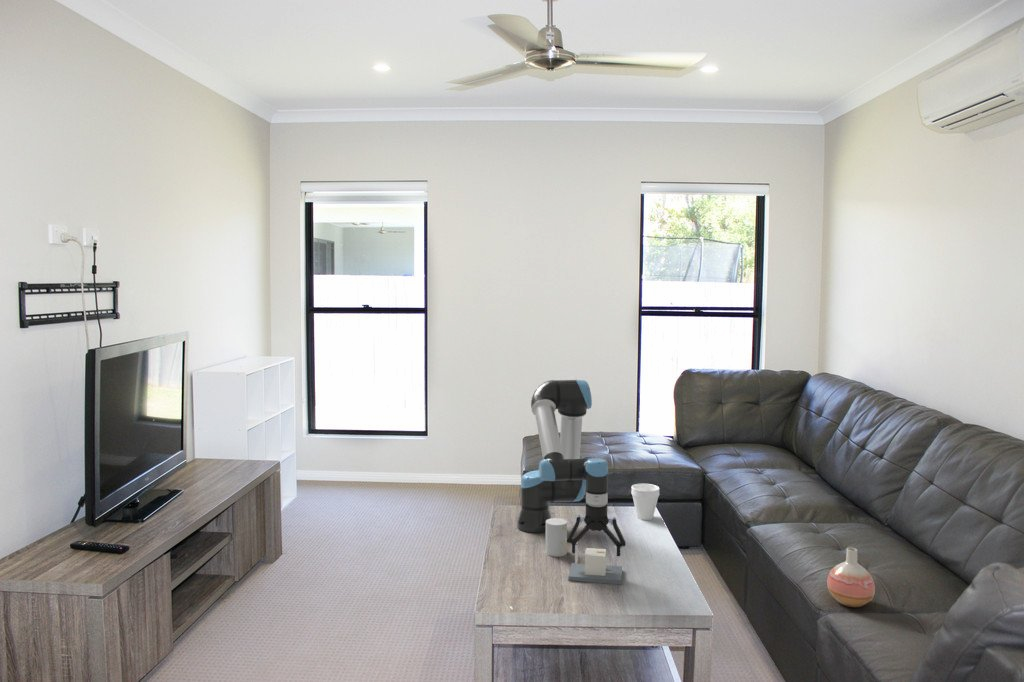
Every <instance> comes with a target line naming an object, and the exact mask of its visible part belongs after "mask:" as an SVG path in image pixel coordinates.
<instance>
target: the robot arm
mask: <svg viewBox="0 0 1024 682" xmlns="http://www.w3.org/2000/svg"><path fill="white" fill-rule="evenodd" d="M592 399H593V398H592V392H591V388H590V385H589V383H588V381H586V380H584V379H583V380H582V379H560V380H557V379H556V380H555V379H554V380H553V379H552V380H546V381H544V382H542V383H541V384H540V385H538V387H537V388H536V389H535V390H534V392H533V393H532V397H531V401H530V406H531V412H532V414H533V415H534V416H535V422H536V427H537V433H538V438H539V443H540V450H541V455H542V459H541V460H540V461H539V463H538V469H537V470H530V471H528V472H526V473H524V474H523V475H522V477H521V481H520V482H521V485H520V488H521V494H520V495H521V502H520V503H521V505H520V506H521V507H520V510H519V515H518V517H517V518H518V519H517V521H516V526H517V527H516V528H517V529H518V530H520V531H521V532H522V531H523V532H526V533H535V534H536V533H537V534H538V533H539V534H540V533H546V520H547V519H551V518H553V517H552V514H551V511H550V503H574V502H580V501H582V500H583V498H584V496H585V516H584V517H583V516H580V515H578V514H577V516H576V519H575V520H576V521H575V523H574V525H573V526H572V529H571V531H570V533H569V535H567V544H568V543H569V544H571V553H572V554H574V563H575V564H577V563H578V560H579V559H578V558H579V543H578V542H579V541H580V539H582V538H583V536H584V535H585V534H586V533H587V532H588V531H589V530H591V532H596V531H597V532H604V533H605V534H606V536H607V537H608V538H609V539H610V540H611V542H612V543H613V544H614V565H613V566H616V567H617V566H618V565H617V564H618V563H617V562H618V557H620V556H621V548H622V547H625V546H626V540H625V537H624V536H623V533H622V532H621V529H620V527H619V525H618V523H617V522H618V521H617V518H616V517H615V516H614V517H613V518H609V516H608V504H609V503H608V495H609V494H608V487H609V486H608V484H609V483H608V482H609V465H608V460H606V459H604V458H599V457H594V458H593V457H592V456H589V455H585V456H583V457H580V456H581V444H582V443H581V440H582V425H583V417H585V416H586V414H587V411H588V410H589V409H591V408H592V405H593V403H592V402H593V400H592ZM556 410H557V412H558V414H559V415H560V416H561V417H560V419H561V420H560V434H559V429H558V424H557V417H556V412H555V411H556ZM583 522H584V523H585V525H584V527H583V528H582V529H581V530H580V531H579V532H578V534H577V535H576V536H575V537H574V535H575V533H576V532H577V530H578V527H579V526H580V524H582V523H583ZM609 523H610V525H611V526H612V527H613V530H614V531H615V533H616V535H617V537H618V538H617V537H616V536H615V535H614V533H612V531H611V529H610V528H609V526H608V524H609ZM573 537H574V538H573Z"/></svg>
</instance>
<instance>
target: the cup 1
mask: <svg viewBox="0 0 1024 682" xmlns="http://www.w3.org/2000/svg"><path fill="white" fill-rule="evenodd" d="M567 538H568V521H567V519H565V518H560V517H559V518H558V517H552V518H551V519H547V520H546V532H545V554H546V555H548V556H551V557H563V556H566V555H567V553H568V542H567Z"/></svg>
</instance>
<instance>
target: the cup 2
mask: <svg viewBox="0 0 1024 682" xmlns="http://www.w3.org/2000/svg"><path fill="white" fill-rule="evenodd" d="M630 494H631V495H632V499H633V500H632V501H633V504H634V509H635V510H634V511H635V514H636V517H637V519H638V518H639V519H638V520H641V519H642V521H651V520H653V519H654V517H655V516H654V514H655V512H656V507H657V503H658V499H659V496H660V487H659V486H658V485H655V484H651V483H635V484H632V485H631V493H630Z"/></svg>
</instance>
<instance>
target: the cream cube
mask: <svg viewBox="0 0 1024 682" xmlns="http://www.w3.org/2000/svg"><path fill="white" fill-rule="evenodd" d="M584 564H585V575H599V576H605V574H606V565H607V549H606V548H594V547H592V548H591V547H590V548H589V547H586V548H585V551H584Z"/></svg>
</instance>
